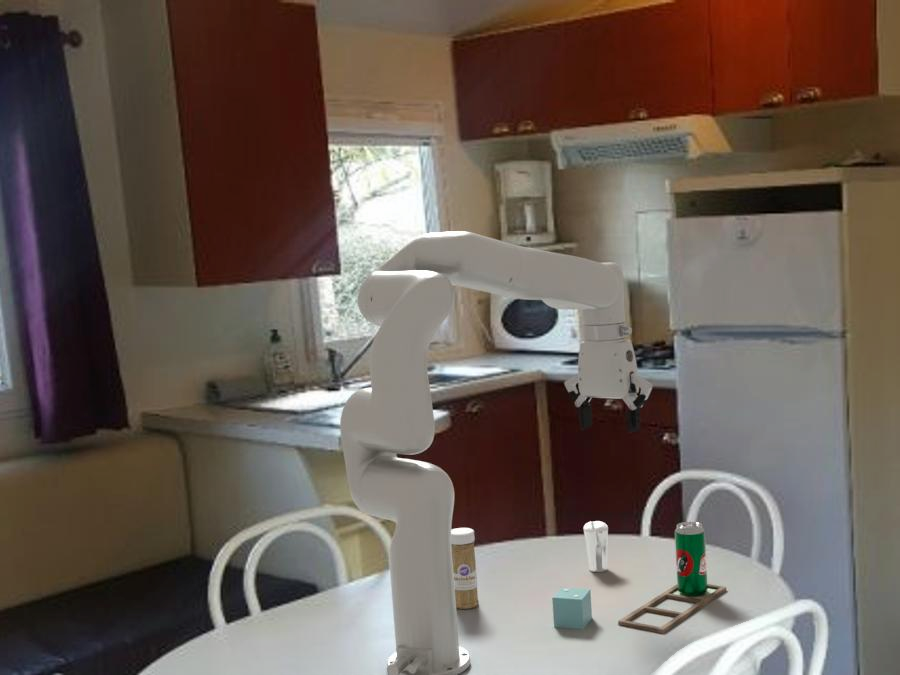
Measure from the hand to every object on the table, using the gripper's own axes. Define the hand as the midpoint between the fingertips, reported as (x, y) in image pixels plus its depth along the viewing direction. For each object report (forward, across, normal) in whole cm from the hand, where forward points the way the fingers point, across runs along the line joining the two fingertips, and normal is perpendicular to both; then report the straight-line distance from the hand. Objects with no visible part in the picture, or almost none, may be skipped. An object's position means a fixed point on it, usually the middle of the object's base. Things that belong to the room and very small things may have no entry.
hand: (610, 429), depth 197 cm
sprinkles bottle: (+28, +18, +21) cm, 40 cm away
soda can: (+28, -14, -2) cm, 32 cm away
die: (+28, -3, +19) cm, 35 cm away
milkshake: (+28, +8, -5) cm, 30 cm away
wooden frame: (+28, -14, +6) cm, 32 cm away
